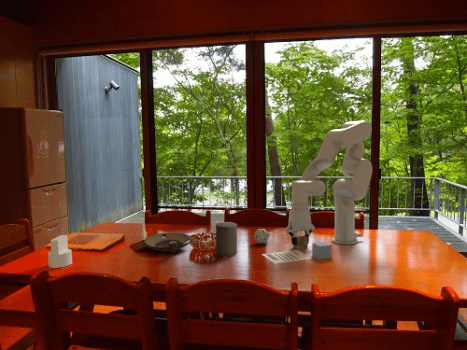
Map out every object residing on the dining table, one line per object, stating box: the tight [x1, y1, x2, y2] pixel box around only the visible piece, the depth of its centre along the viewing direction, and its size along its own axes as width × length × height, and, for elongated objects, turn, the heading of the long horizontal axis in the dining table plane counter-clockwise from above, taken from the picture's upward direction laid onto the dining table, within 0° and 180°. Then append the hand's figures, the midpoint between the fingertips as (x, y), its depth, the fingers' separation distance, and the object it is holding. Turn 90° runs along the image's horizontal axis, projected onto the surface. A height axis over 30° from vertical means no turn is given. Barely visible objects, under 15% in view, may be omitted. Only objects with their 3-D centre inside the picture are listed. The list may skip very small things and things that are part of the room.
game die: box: [251, 227, 272, 246], centre depth 190 cm, size 9×8×10 cm
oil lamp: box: [143, 232, 191, 253], centre depth 182 cm, size 22×30×8 cm
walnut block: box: [292, 234, 309, 251], centre depth 182 cm, size 5×5×6 cm
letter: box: [261, 249, 313, 265], centre depth 169 cm, size 18×14×1 cm
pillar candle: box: [215, 221, 238, 257], centre depth 175 cm, size 10×10×15 cm
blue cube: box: [311, 241, 333, 260], centre depth 167 cm, size 6×6×6 cm
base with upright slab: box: [47, 234, 73, 268], centre depth 162 cm, size 9×9×12 cm
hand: (300, 243), depth 182 cm, fingers open, 5 cm apart
